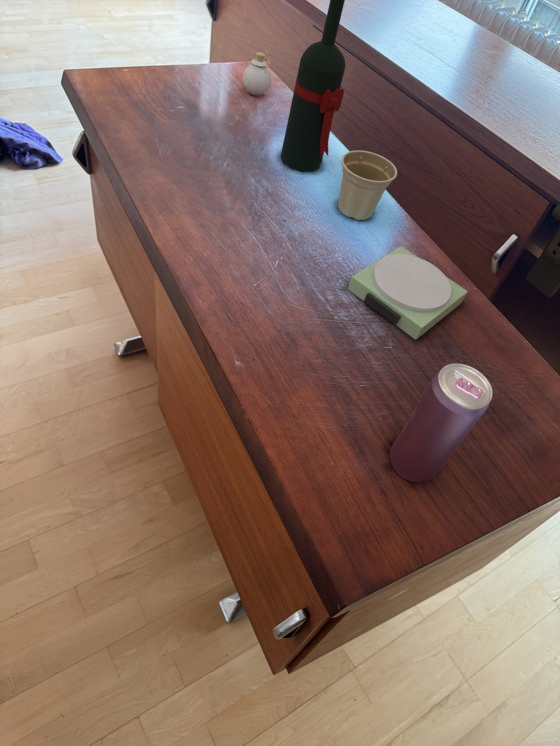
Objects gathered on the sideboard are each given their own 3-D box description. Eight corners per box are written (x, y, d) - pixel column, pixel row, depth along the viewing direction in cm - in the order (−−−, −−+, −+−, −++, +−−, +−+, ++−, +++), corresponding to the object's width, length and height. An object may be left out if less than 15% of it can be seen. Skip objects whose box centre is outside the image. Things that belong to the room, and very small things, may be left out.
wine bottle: (301, 182, 102) (345, -7, 80) (272, 152, 107) (307, -35, 85) (336, 175, 106) (388, -7, 83) (306, 147, 111) (348, -33, 88)
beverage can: (424, 494, 65) (483, 419, 54) (379, 465, 66) (427, 386, 55) (443, 459, 69) (502, 382, 57) (400, 432, 70) (449, 352, 59)
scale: (461, 303, 88) (470, 287, 86) (413, 342, 81) (421, 325, 78) (396, 257, 93) (402, 241, 90) (344, 290, 85) (350, 273, 83)
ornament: (261, 86, 124) (268, 37, 117) (276, 103, 120) (285, 53, 113) (236, 87, 122) (242, 37, 114) (251, 104, 118) (258, 53, 110)
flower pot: (346, 188, 104) (359, 143, 97) (390, 212, 101) (406, 168, 95) (318, 207, 98) (331, 162, 92) (364, 233, 96) (380, 188, 89)
